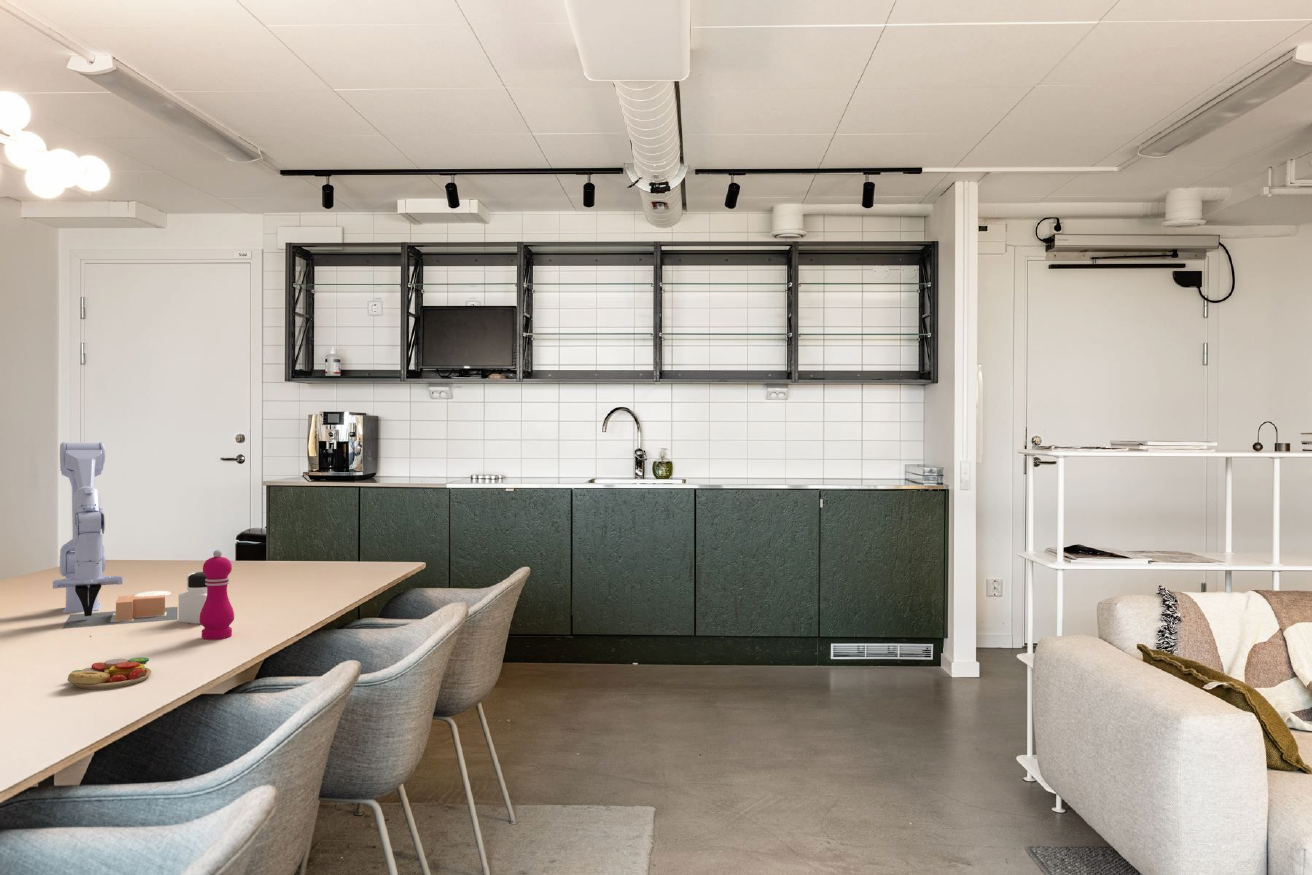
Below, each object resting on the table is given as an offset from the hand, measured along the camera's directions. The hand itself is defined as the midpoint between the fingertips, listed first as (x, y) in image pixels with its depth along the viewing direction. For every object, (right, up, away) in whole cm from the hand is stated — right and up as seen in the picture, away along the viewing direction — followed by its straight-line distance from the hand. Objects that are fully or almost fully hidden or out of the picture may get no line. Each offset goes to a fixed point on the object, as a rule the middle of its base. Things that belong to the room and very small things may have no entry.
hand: (88, 615), depth 220 cm
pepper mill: (+39, -2, -15) cm, 42 cm away
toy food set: (+37, -3, -52) cm, 64 cm away
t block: (+10, -1, +5) cm, 11 cm away
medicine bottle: (+27, -2, +2) cm, 27 cm away
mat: (+7, -2, +3) cm, 8 cm away
